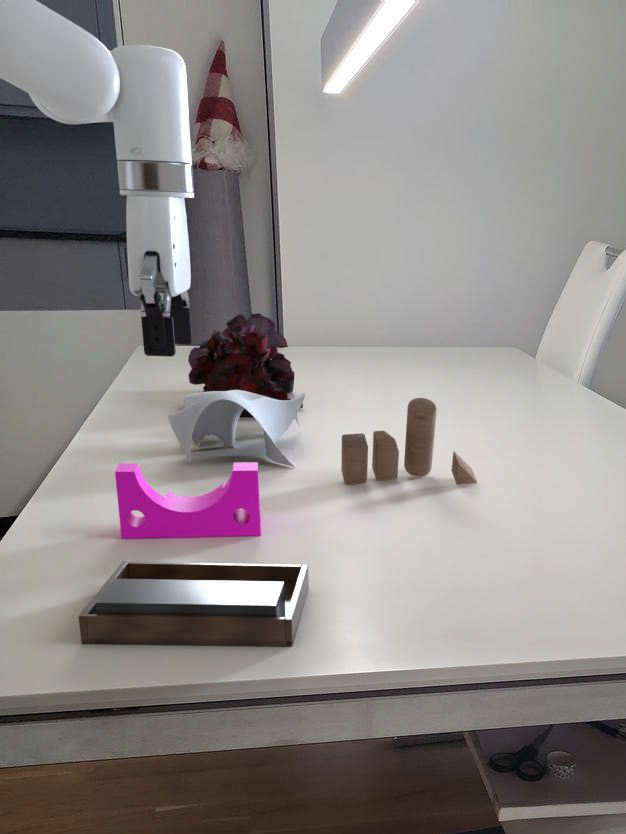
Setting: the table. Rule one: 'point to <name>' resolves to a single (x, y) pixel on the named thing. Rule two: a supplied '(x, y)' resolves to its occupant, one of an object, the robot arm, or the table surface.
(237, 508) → the toy block
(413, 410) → the wooden block set
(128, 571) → the wooden tray
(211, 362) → the flower arrangement
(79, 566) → the table surface
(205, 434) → the sculpture
